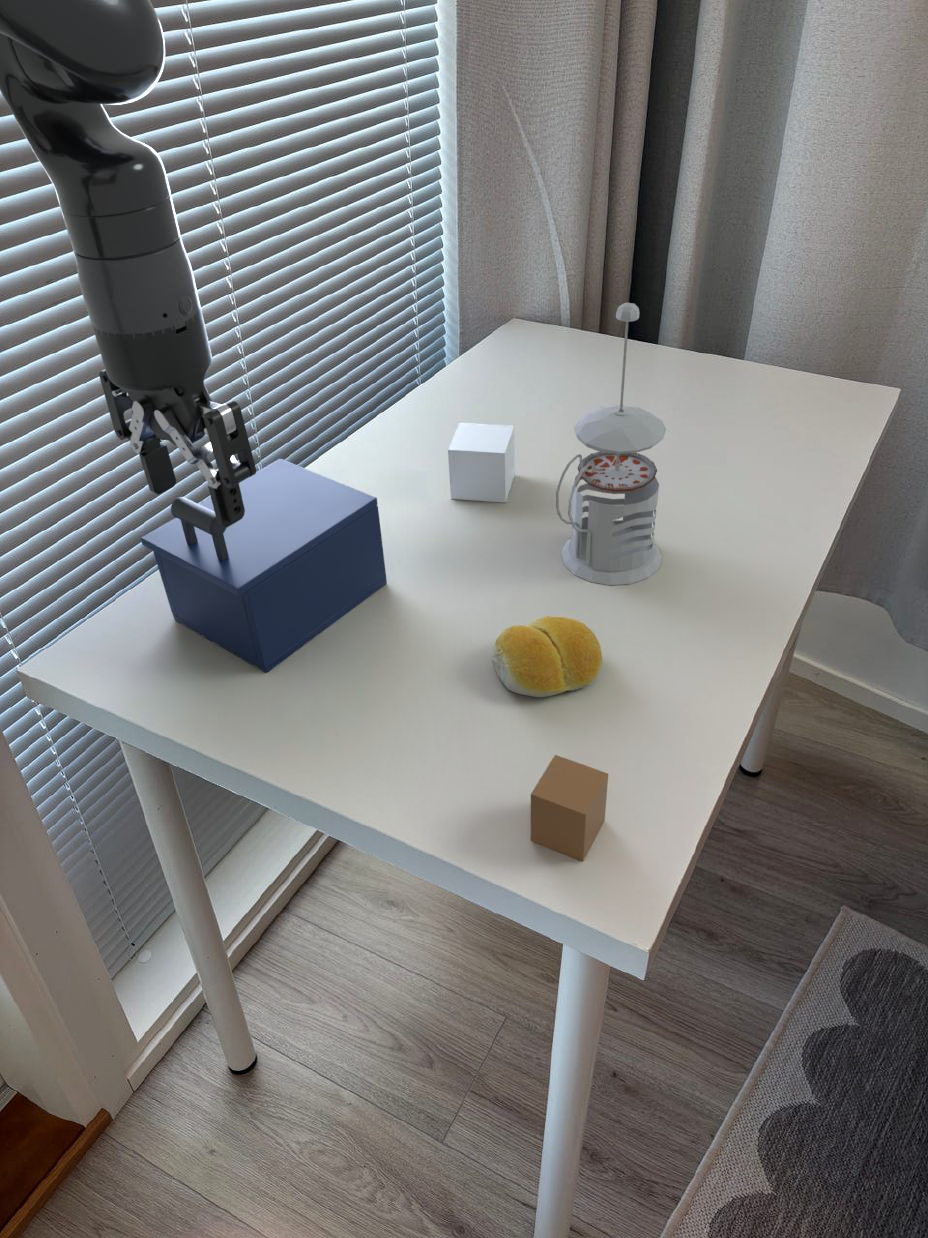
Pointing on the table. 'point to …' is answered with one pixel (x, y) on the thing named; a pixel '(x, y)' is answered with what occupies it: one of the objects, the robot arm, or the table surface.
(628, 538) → the french press
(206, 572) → the lid
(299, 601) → the box
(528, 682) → the bread roll
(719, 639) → the table surface
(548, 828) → the block
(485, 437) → the white cube
